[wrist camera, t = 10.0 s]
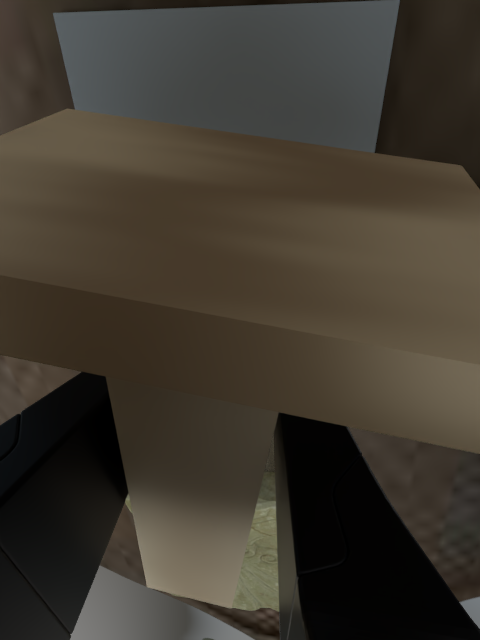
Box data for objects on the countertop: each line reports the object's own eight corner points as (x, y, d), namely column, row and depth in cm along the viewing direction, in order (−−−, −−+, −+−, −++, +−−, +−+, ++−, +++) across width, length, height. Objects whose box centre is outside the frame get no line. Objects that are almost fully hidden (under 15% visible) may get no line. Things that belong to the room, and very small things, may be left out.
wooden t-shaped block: (461, 166, 7) (634, 394, 3) (320, 488, 14) (313, 678, 10) (66, 108, 7) (-234, 230, 3) (126, 445, 14) (50, 608, 10)
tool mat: (397, 1, 14) (400, -1, 13) (342, 338, 23) (342, 344, 22) (61, 14, 16) (52, 12, 15) (128, 318, 25) (124, 323, 24)
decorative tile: (327, 468, 30) (326, 512, 28) (339, 586, 41) (339, 627, 38) (112, 458, 35) (92, 495, 32) (173, 567, 46) (163, 602, 43)
